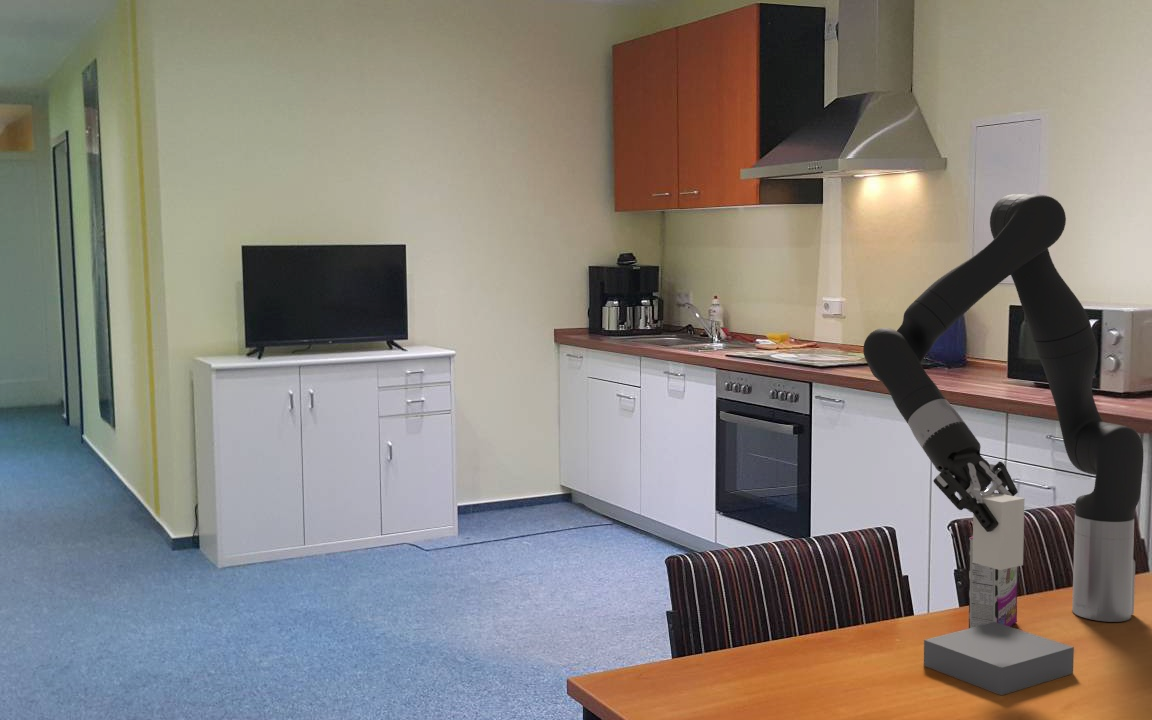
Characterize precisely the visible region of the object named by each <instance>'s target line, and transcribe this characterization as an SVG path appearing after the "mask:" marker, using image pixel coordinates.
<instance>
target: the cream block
mask: <svg viewBox="0 0 1152 720" xmlns="http://www.w3.org/2000/svg"><path fill="white" fill-rule="evenodd" d="M981 497H982V499H983V503H982V504H986V505H987V507H988V508H989V510H990V511H991V513H992V514H993V516H994V517H995V518H996V520H997V521H998V526H997V527H996V528H995V529H994V530H993V531H991V532H987V531H986V530H985V529H984V528H983V527H982V526H981V524H980V522H979V521H978V520H977V518H976V517H975V515H974V514H973V513H972V514H973V516H972V518H973V520H972V527H973V528H972V536H973V562H972V563H976V564H980V565H983V566H987V567H991V568H994V569H998V570H1003V569H1008V568H1012V567H1017V568H1018V567H1022V566H1024V543H1025V542H1024V539H1025V538H1024V536H1025V535H1024V534H1025V533H1024V532H1025V529H1024V528H1025V498H1024V497H1021V496H1016V495H1014V496H1010V495H1005V494H1000V493H999V492H995V493H992V494H986V495H982V494H981Z"/></svg>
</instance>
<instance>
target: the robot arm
mask: <svg viewBox="0 0 1152 720" xmlns="http://www.w3.org/2000/svg"><path fill="white" fill-rule="evenodd" d="M989 217H990V218H989V227H990V233H991V235H992V238H993V240H992V241H991V242H989V244H987V245H986V246H985V247H983V249H981V250H980V251H978V252H977V253H976V254H975V255H973V256H971V257H970V258H969V259H967V260H965V261H963V263H961V264H959V265H958V266H956V267H955V268H953V269H951V270H949V271H948V272H947V273H945V274H944V275H943V276H941V277H940V278H938V279H937V280H935V281H934V282H933V283H932V284H931V285H929V286H928V287H927V289H925V290H924V292H922V293H921V294H920V295H919V296H918V297H917V298H916V299H915V300H914V301H913V302H912V303H911V304H910V305H909V306H908V307H907V308H906V310H905V311H904V313H903V316H902V317H903V319H902V322H901V325H900V326H899V327H898V329H897V330H895V329H892V328H888V327H883V328H881V327H880V328H877V329H875V330H873V331H871V332H870V333H869V334H868V335H867V337H866V339H865V340H864V343H863V348H862V349H863V356H864V357H863V358H864V359H865V361H866V363H867V365H868V367H869V369H870V371H871V374H872V376H873V377H875V379H877V381H879V382H881V383H882V384H883V385H884V387H885V388H886V389H887V390H888V392H889V394H890V396H891V398H892V401H893V403H894V404H895V407H896V408H897V410H898V412H899V414H900V415H901V416H902V417H903V418H904V419H903V420H904V421H905V422H906V424H908V427H909V428H910V431H911V432H912V434H913V436H914V437H915V440H916V441H917V442H918V444H919V446H920V447H921V449H922V450H923V451H924V453H925V454H926V456H927V457H928V459H929V461H930V462H931V463H932V465H933V466H934V468H935V469H936V470H937V471H938V474H937V476H936V477H935V478H934V479H933V483H934V485H935V486H937V488H938V489H939V490H940V491H941V492H942V493H943V494H944V495H945V497H946V498H947V499H948V500H949V501H950V503H952V504H953V505H954V506H955V507H956V508H957V510H959V511H962V510H963V511H964V510H967V511H968V512H970V513H972V514H974V515H975V517H976V518H977V520H978V521H979V522H980V524H981V526H982V527H983V528H984V529H985V530H986V531H987V532H991V531H993V530H994V529H995V528H996V527H997V526H998V521H997V520H996V518H995V517H994V516H993V514H992V513H991V511H990V510H989V508H988V507H987V505H986V504H982V503H983V499H982V497H981V495H986V494H992V493H996V492H995V491H997V493H1000V494H1005V495H1010V496H1016V495H1017V494H1018V493H1019V491H1018V489H1017V487H1016V484H1015V483H1014V481H1013V478H1012V476H1011V475H1010V473H1009V471H1008V469H1007V467H1006V465H1005V463H1004V462H1002V461H998V462H997V463H995V464H990V463H989V462H988V460H986V459H985V458H983V456H982V455H981V443H980V442H979V440H978V439H977V437H976V436H975V435H974V434H973V432H972V431H971V429H970V428H969V426H968V425H967V424H966V422H965V421H964V419H963V418H962V416H961V415H960V414H959V412H958V410H956V409H955V407H953V405H952V404H951V403H950V402H949V401H948V400H947V398H946V397H945V396H944V394H943V393H942V392H941V390H940V388H939V387H938V386H937V385H936V383H935V382H934V381H933V380H932V379H931V377H930V376H929V375H928V374H927V372H926V370H925V369H924V367H923V365H922V364H921V363H922V361H923V360H924V358H925V357H926V356H927V354H928V353H929V352H930V351H931V348H932V347H933V346H934V344H935V343H936V342H937V340H938V339H939V338H940V337H941V336H943V335H944V334H945V333H946V332H947V331H948V330H949V329H950V328H951V327H952V326H953V325H954V324H955V323H956V322H957V321H959V319H960V318H961V317H962V316H964V315H965V314H966V313H967V311H969V310H970V309H971V308H972V307H973V306H974V305H975V304H977V302H979V301H980V300H981V299H982V298H983V297H984V296H985V295H987V294H988V293H990V292H991V290H992V289H994V288H995V287H997V285H999V284H1000V283H1001V282H1003V281H1004V280H1005V279H1006V278H1008V277H1009V276H1011V279H1012V281H1013V283H1014V286H1015V290H1016V292H1017V295H1018V296H1017V297H1018V298H1019V302H1020V304H1021V307H1022V310H1023V312H1024V316H1025V319H1026V322H1027V325H1028V328H1029V332H1030V335H1031V338H1032V341H1033V344H1034V347H1035V350H1036V353H1037V355H1038V359H1039V361H1040V363H1041V365H1042V367H1043V371H1044V374H1045V377H1046V379H1047V383H1048V386H1049V389H1050V393H1051V396H1052V399H1053V403H1054V405H1055V409H1056V412H1057V413H1056V414H1057V418H1058V422H1059V427H1060V431H1061V436H1062V440H1063V445H1064V448H1065V451H1066V455H1067V457H1068V460H1069V461H1070V463H1071V464H1072V465H1073V466H1074V468H1076V469H1077V470H1079V471H1080V472H1083V473H1085V474H1089V475H1094V476H1095V479H1094V487H1093V491H1092V492H1091V493H1089V494H1082V495H1080V496H1078V497H1077V498H1076V500H1075V503H1074V535H1073V537H1074V538H1073V540H1074V541H1073V543H1074V544H1073V570H1072V571H1073V573H1072V574H1073V575H1072V577H1073V578H1072V612H1073V614H1075V615H1076V616H1078V617H1081V618H1084V619H1088V620H1093V621H1097V622H1109V623H1114V622H1115V623H1117V622H1118V623H1119V622H1126V621H1128V620H1130V619H1132V615H1134V614H1135V612H1134V611H1135V587H1136V581H1135V579H1136V560H1135V559H1134V543H1135V542H1134V540H1135V539H1134V538H1135V535H1134V533H1135V515H1136V514H1135V512H1136V511H1135V510H1136V509H1137V506H1138V504H1139V502H1140V499H1141V493H1142V492H1141V489H1142V480H1143V471H1144V468H1143V467H1144V446H1143V441H1142V438H1141V437H1140V434H1139V432H1137V431H1136V430H1135V429H1134V428H1131V427H1129V426H1127V425H1122V424H1118V423H1112V422H1105V421H1103V419H1102V417H1101V416H1100V413H1099V411H1098V408H1097V404H1096V402H1095V399H1094V394H1093V380H1094V376H1095V373H1096V368H1097V363H1098V358H1099V357H1098V356H1099V348H1098V344H1097V340H1096V339H1097V338H1096V336H1095V334H1094V330H1093V328H1092V324H1091V321H1090V319H1089V316H1088V314H1087V312H1086V310H1085V308H1084V306H1083V304H1082V303H1081V302H1080V300H1079V299H1078V298H1077V296H1076V294H1075V293H1074V292H1073V290H1072V289H1071V288H1070V287H1069V285H1068V284H1067V282H1066V281H1065V280H1064V278H1063V277H1062V276H1061V275H1060V273H1059V271H1058V270H1057V268H1056V267H1055V264H1054V262H1053V260H1052V257H1051V254H1050V251H1049V248H1051V246H1053V245H1054V244H1055V243H1056V242H1058V240H1060V237H1061V236H1062V234H1063V233H1064V231H1065V227H1066V223H1067V222H1066V221H1067V220H1066V219H1067V217H1066V211H1065V209H1064V207H1063V205H1062V204H1061V203H1060V202H1059V201H1058V200H1057V199H1056V198H1054V197H1052V196H1049V195H1045V194H1038V193H1011V194H1008V195H1005V196H1003V197H1002V198H1000V199H999V200H997V202H996V203H995V204H994V205H993V207H992V209H991V212H990V216H989ZM991 484H992V486H990V487H989V485H991ZM988 487H989V488H988ZM1006 487H1007V488H1006ZM956 493H957V494H958V495H959V497H958V496H956ZM959 498H960V499H959Z"/></svg>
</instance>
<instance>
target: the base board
mask: <svg viewBox="0 0 1152 720" xmlns="http://www.w3.org/2000/svg"><path fill="white" fill-rule="evenodd" d="M1074 654H1075V647H1074V646H1071V645H1069V644H1065V643H1062V642H1058V641H1056V640H1054V639H1050V638H1046V637H1043V636H1040V635H1036V634H1033V633H1030V632H1028V631H1024V630H1021V629H1017V628H1014V627H1013V626H1012V627H1009V626H1006V625H1003V624H1000V623H996V622H993V623H989V624H985V625H981V626H977V627H973V628H969V627H968V628H966V629H961V630H958V631H954V632H950V633H945V634H942V635H938V636H935V637H931V638H926V639H923V666H924V667H926V668H929V669H931V670H934V671H936V672H939V673H942V674H943V675H944V674H945V675H946V676H950V677H952V678H955V679H957V680H960V681H962V682H965V683H967V684H971V685H973V686H976V687H978V688H981V689H984V690H986V691H988V692H992V693H994V694H997V695H999V696H1004V695H1008V694H1011V693H1013V692H1018V691H1020V690H1025V689H1027V688H1030V687H1033V686H1037V685H1040V684H1043V683H1046V682H1050V681H1053V680H1056V679H1059V678H1063V677H1066V676H1070V675H1072V674H1074V659H1075V657H1074V656H1075V655H1074Z"/></svg>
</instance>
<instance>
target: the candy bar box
mask: <svg viewBox="0 0 1152 720" xmlns="http://www.w3.org/2000/svg"><path fill="white" fill-rule="evenodd" d="M968 543H969V544H968V555H969V556H968V629H969V628H973V627H977V626H981V625H985V624H989V623H993V622H996V623H1000V624H1003V625H1006V626H1009V627H1012V628H1013V626H1014V625H1015V624H1016V623H1017V622H1018V566H1017V567H1012V568H1008V569H1003V570H998V569H994V568H991V567H987V566H983V565H980V564H976V563H972V562H973V535H971V537H969V538H968Z"/></svg>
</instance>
